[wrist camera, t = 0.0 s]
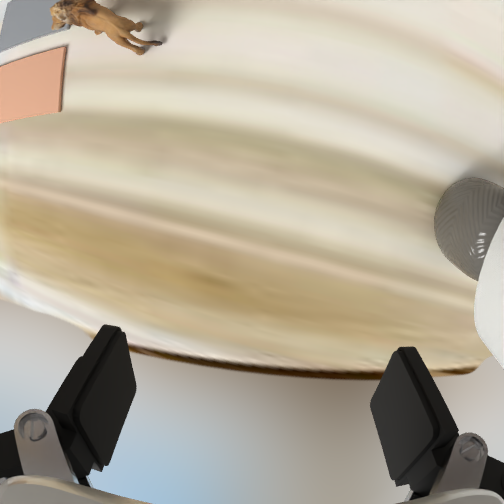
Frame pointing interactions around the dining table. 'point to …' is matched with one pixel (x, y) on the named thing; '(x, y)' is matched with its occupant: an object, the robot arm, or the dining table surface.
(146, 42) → the lion figurine
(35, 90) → the terracotta tile
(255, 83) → the dining table surface
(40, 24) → the slate tile
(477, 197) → the lamp
